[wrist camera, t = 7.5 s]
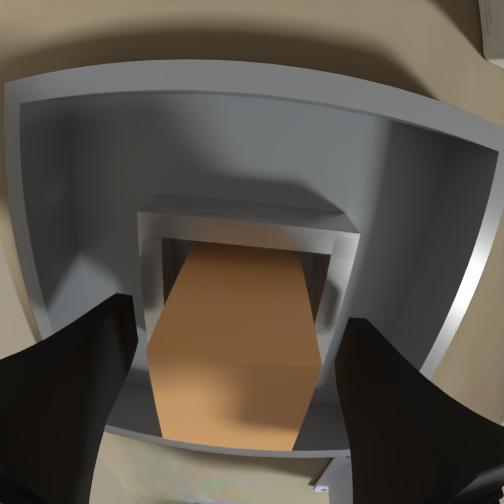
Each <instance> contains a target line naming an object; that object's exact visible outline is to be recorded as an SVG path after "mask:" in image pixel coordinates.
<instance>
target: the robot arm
mask: <svg viewBox="0 0 504 504" xmlns="http://www.w3.org/2000/svg"><path fill="white" fill-rule="evenodd" d="M138 342H139V340H138V334H137V327H136V320H135V312H134V304H133V296H132V295H127V294H120V293H115V294H114V295H112V296H110V297H109V298H107V299H106V300H104V301H103V302H101V303H100V304H98V305H97V306H95V307H94V308H92V309H91V310H90V311H88V312H87V313H85V314H84V315H82V316H81V317H79V318H78V319H76V320H75V321H73V322H72V323H70V324H69V325H67V326H65V327H64V328H62V329H61V330H59V331H57V332H56V333H54V334H53V335H51V336H49V337H48V338H46V339H44V340H42V341H40V342H38V343H37V344H35V345H33V346H31V347H29V348H27V349H25V350H22V351H20V352H18V353H15V354H13V355H10V356H8V357H5V358H3V359H1V360H0V504H89V497H90V490H91V484H92V479H93V472H94V468H95V463H96V459H97V455H98V451H99V447H100V443H101V439H102V436H103V432H104V429H105V425H106V423H107V420H108V417H109V415H110V412H111V410H112V408H113V405H114V403H115V401H116V399H117V396H118V394H119V392H120V390H121V388H122V385H123V383H124V381H125V379H126V377H127V374H128V372H129V370H130V368H131V365H132V362H133V359H134V356H135V352H136V349H137V345H138ZM334 365H335V377H336V386H337V391H338V395H339V400H340V404H341V409H342V413H343V417H344V422H345V426H346V431H347V435H348V440H349V446H350V454H351V456H346V457H334V458H333V459H332V461H331V462H330V464H329V465H328V467H327V468H326V470H325V471H324V473H323V474H322V476H321V477H320V479H319V480H318V482H317V483H316V484H315V486H314V487H313V490H314V491H315V492H325V491H328V493H329V503H330V504H500V502H499V499H501V498H502V497H503V496H504V494H503V491H502V487H503V486H504V427H503V426H501V425H499V424H497V423H494V422H492V421H490V420H488V419H486V418H484V417H483V416H481V415H479V414H477V413H475V412H474V411H472V410H470V409H468V408H467V407H465V406H464V405H462V404H461V403H459V402H458V401H456V400H454V399H453V398H452V397H450V396H449V395H447V394H446V393H445V392H443V391H442V390H441V389H440V388H438V387H437V386H436V385H434V384H433V383H432V382H431V381H429V380H428V379H427V378H426V377H425V376H424V375H423V374H421V373H420V372H419V371H418V370H417V369H416V368H415V367H414V366H413V365H412V364H411V363H410V362H409V361H408V360H406V359H405V358H404V357H403V356H402V355H401V354H400V353H399V352H398V350H397V349H396V348H395V347H394V346H393V345H392V344H391V343H390V342H389V341H388V340H387V339H386V338H385V337H384V336H383V335H382V334H381V333H380V332H379V331H378V330H377V329H376V328H375V327H374V326H373V325H372V324H371V323H370V322H369V321H368V320H367V319H366V318H354V317H349V319H348V322H347V325H346V328H345V331H344V334H343V337H342V340H341V343H340V346H339V349H338V352H337V355H336V358H335V360H334Z"/></svg>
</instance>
